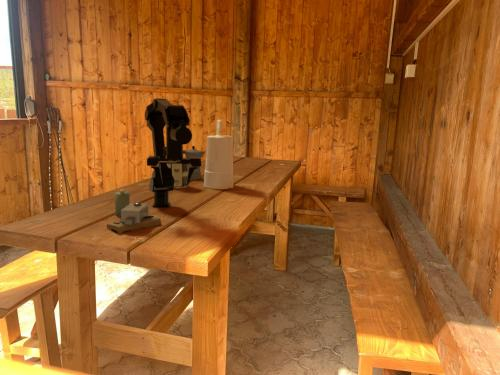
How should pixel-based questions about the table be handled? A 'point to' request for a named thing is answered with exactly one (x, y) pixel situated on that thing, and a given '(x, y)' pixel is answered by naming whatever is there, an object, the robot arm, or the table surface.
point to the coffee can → (179, 174)
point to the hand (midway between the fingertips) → (174, 185)
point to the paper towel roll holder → (219, 161)
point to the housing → (134, 213)
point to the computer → (134, 225)
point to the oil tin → (121, 201)
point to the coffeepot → (193, 153)
